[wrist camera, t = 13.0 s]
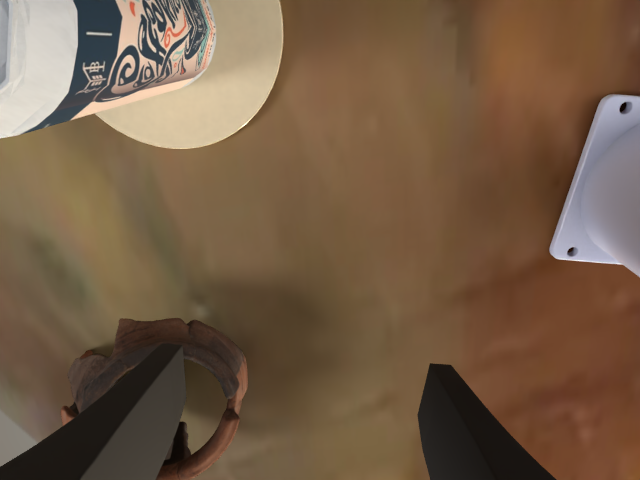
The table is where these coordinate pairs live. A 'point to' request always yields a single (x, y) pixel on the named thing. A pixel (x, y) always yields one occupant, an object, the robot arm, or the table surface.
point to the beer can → (95, 56)
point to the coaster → (214, 83)
